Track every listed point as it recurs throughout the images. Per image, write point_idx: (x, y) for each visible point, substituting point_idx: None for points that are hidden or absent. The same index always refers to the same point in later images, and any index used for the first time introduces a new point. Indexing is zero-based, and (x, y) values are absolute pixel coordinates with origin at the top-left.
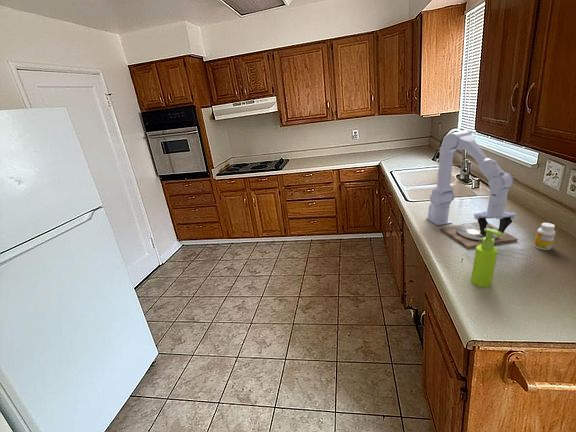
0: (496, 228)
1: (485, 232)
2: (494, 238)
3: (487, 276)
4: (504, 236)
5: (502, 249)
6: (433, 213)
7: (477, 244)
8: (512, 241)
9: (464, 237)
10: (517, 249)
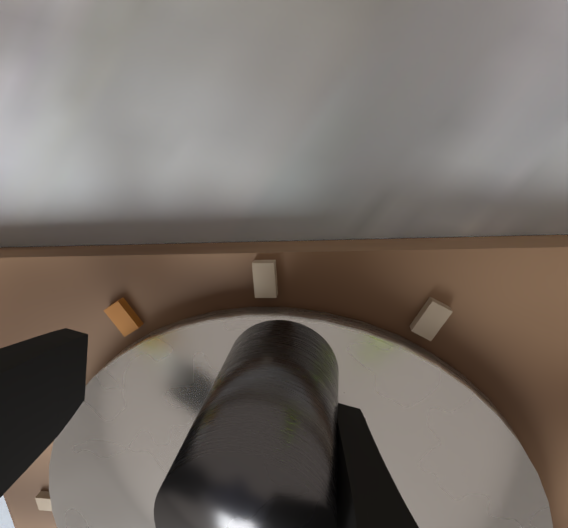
0: (27, 518)
1: (332, 429)
2: (193, 322)
3: None
4: None
5: (224, 98)
6: None
7: (523, 259)
8: (4, 249)
9: None
10: (43, 53)
